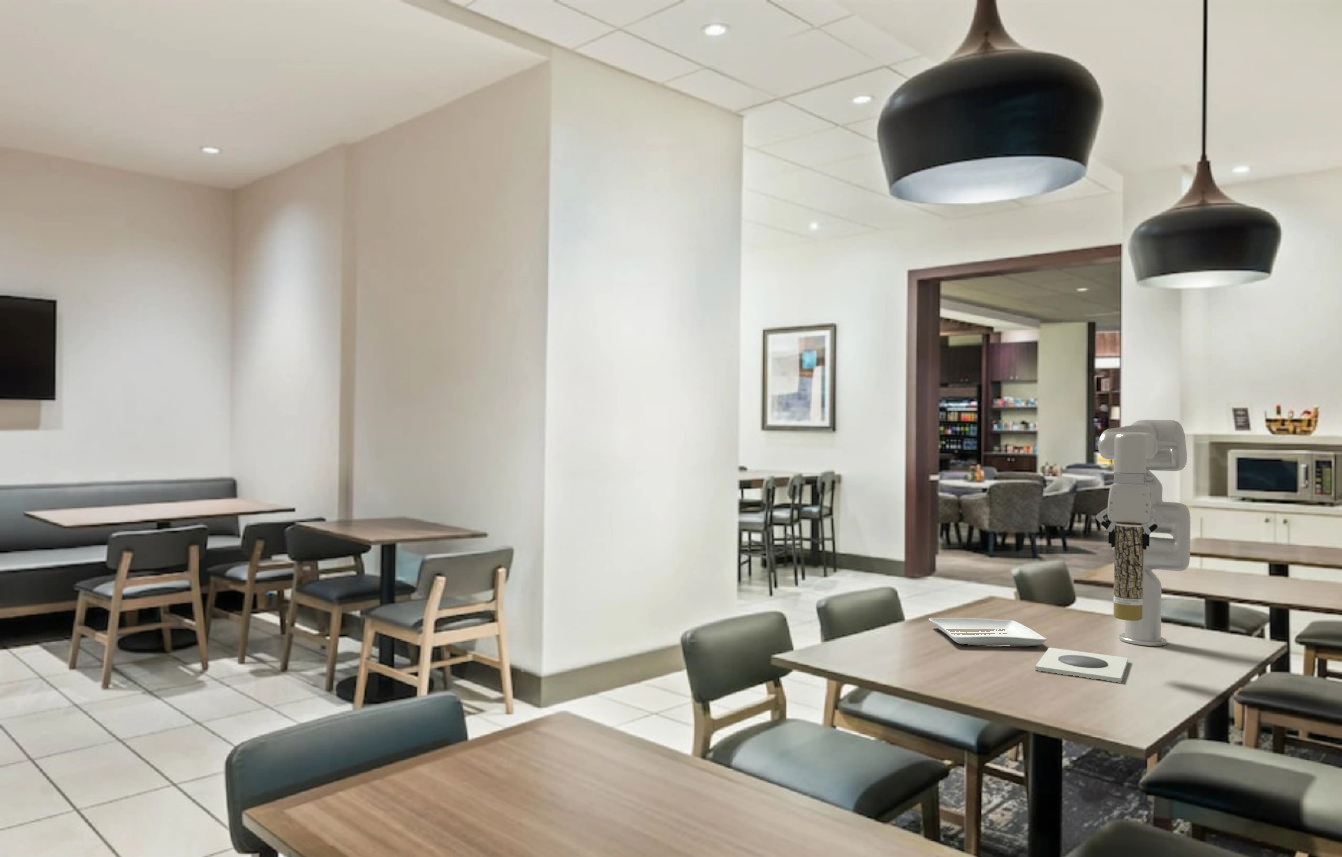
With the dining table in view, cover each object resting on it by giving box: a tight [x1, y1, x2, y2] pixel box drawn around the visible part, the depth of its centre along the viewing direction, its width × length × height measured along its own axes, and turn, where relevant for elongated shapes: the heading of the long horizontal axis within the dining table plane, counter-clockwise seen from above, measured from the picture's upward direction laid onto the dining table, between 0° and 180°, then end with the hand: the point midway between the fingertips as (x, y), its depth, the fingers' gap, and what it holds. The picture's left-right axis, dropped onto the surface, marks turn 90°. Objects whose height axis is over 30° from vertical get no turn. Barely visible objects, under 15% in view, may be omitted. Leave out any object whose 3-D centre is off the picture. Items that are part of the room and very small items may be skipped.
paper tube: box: [1113, 523, 1144, 621], centre depth 231 cm, size 7×7×25 cm
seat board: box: [1034, 647, 1129, 684], centre depth 236 cm, size 24×20×2 cm
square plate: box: [928, 617, 1048, 647], centre depth 267 cm, size 27×27×4 cm
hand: (1128, 547), depth 231 cm, fingers closed on paper tube, 6 cm apart
